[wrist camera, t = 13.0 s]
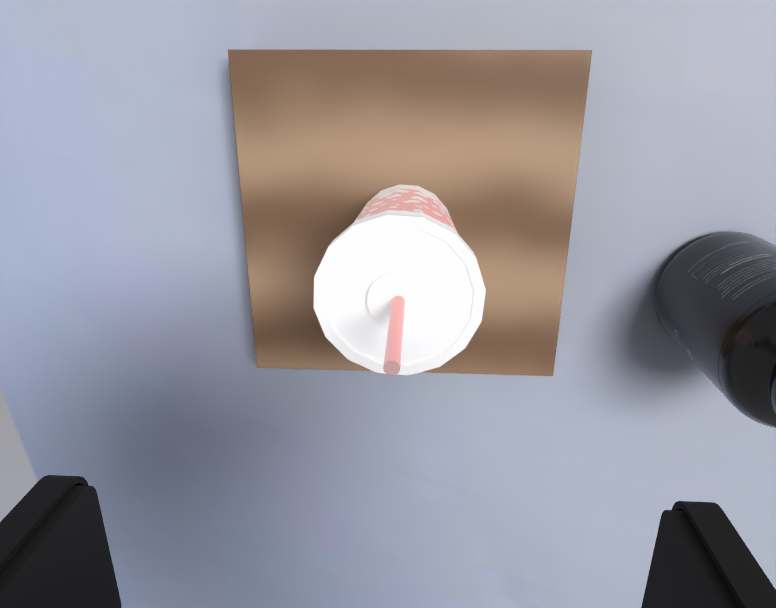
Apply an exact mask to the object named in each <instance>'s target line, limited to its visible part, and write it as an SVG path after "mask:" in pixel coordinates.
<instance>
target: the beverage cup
mask: <svg viewBox="0 0 776 608" xmlns="http://www.w3.org/2000/svg"><path fill="white" fill-rule="evenodd" d="M485 293H486V289H485V286H484V282H483V279H482V276H481V272H480V269H479V265H478V262H477V259H476V256H475V255H474V252H473V251H472V250H471V249H470V247H469V246H468V245H467V244H466V243H465V242H464V240H463V239H462V238H461V237H460V236H459V235H458V233H457V230H456V228H455V226H454V224H453V221H452V219H451V217H450V215H449V212H448V210H447V208H446V207H445V206H444V205H443V203H442V202H441V201H440V200H439V199H438V197H437V196H436V195H435V194H433V193H431V192H429V191H427V190H425V189H423V188H421V187H419V186H414V185H400V184H399V185H396V186H393V187H390V188H387V189H384V190H381V191H380V192H379V193H378V194H377V195H376V196H374V197H373V198H372V199H371V200H370V201H369V202H368V203H367V204H366V205H365V207H364V208H363V210H362V211H361V213H360V214H359V215H358V217H357V218H356V220H355V221H354V223H353V224H352V225H350V226H349V227H348V228H347V229H346V230H345V231H343V232H342V233H341V234H340V235H339V236H338V237H337V238H335V239H334V240H333V241H332V242H331V244H330V245H329V246H328V248H327V251H326V253H325V255H324V257H323V259H322V261H321V263H320V265H319V268H318V270H317V272H316V274H315V276H314V311H315V313H316V315H317V318H318V320H319V323H320V325H321V327H322V330H323V332H324V335H325V337H326V338H327V339H328V340H329V341H330V342H331V343H332V344H333V345H334V346H335V347H336V348H337V349H338V350H339V351H340V352H341V353H342V354H343V355H344V356H345V357H346V358H347V359H348V360H350V361H352V362H354V363H357V364H359V365H361V366H363V367H365V368H367V369H370V370H372V371H374V372H376V373H386V374H388V375H392V376H393V375H396V374H398V375H412V374H416V373H419V372H423V371H427V370H430V369H434V368H438V367H440V366H442V365H443V364H444V363H446V362H447V361H449V360H450V359H451V358H453V357H454V356H455V355H457V354H458V353H460V352H461V351H462V350H464V349H465V348H466V346H467V345H468V343H469V341H470V340H471V338H472V336H473V335H474V333H475V332H476V330H477V328H478V327H479V325H480V323H481V322H482V315H483V308H484V300H485Z"/></svg>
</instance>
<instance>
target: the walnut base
mask: <svg viewBox="0 0 776 608" xmlns="http://www.w3.org/2000/svg"><path fill="white" fill-rule="evenodd" d="M228 55H229V67H230V78H231V89H232V100H233V111H234V122H235V133H236V144H237V155H238V166H239V177H240V188H241V199H242V210H243V221H244V232H245V243H246V254H247V265H248V276H249V287H250V298H251V309H252V320H253V332H254V343H255V354H256V365H257V368H291V369H326V370H361V371H372V370H370V369H367V368H365V367H363V366H361V365H359V364H357V363H354V362H352V361H350V360H348V359H347V358H346V357H345V356H344V355H343V354H342V353H341V352H340V351H339V350H338V349H337V348H336V347H335V346H334V345H333V344H332V343H331V342H330V341H329V340H328V339H327V338H326V337H325V335H324V332H323V330H322V327H321V325H320V323H319V320H318V318H317V315H316V313H315V311H314V276H315V274H316V272H317V270H318V268H319V265H320V263H321V261H322V259H323V257H324V255H325V253H326V251H327V248H328V246H329V245H330V244H331V242H332V241H333V240H334V239H335V238H337V237H338V236H339V235H340V234H341V233H342V232H343V231H345V230H346V229H347V228H348V227H349V226H350V225H352V224H353V223H354V221H355V220H356V218H357V217H358V215H359V214H360V213H361V211H362V210H363V208H364V207H365V205H366V204H367V203H368V202H369V201H370V200H371V199H372V198H373V197H374V196H376V195H377V194H378V193H379V192H380V191H381V190H384V189H387V188H390V187H393V186H396V185H399V184H400V185H414V186H419V187H421V188H423V189H425V190H427V191H429V192H431V193H433V194H435V195H436V196H437V197H438V199H439V200H440V201H441V202H442V203H443V205H444V206H445V207H446V208H447V210H448V212H449V215H450V217H451V219H452V221H453V224H454V226H455V228H456V230H457V233H458V235H459V236H460V237H461V238H462V239H463V240H464V242H465V243H466V244H467V245H468V246H469V247H470V249H471V250H472V251H473V252H474V255H475V256H476V259H477V262H478V265H479V269H480V272H481V276H482V279H483V282H484V286H485V289H486V293H485V300H484V308H483V315H482V322H481V323H480V325H479V327H478V328H477V330H476V332H475V333H474V335H473V336H472V338H471V340H470V341H469V343H468V345H467V346H466V348H465V349H464V350H462V351H461V352H460V353H458V354H457V355H455V356H454V357H453V358H451V359H450V360H449V361H447V362H446V363H444V364H443V365H442V366H440V367H438V368H434V369H430V370H427V371H423V372H431V373H466V374H501V375H536V376H553V371H554V363H555V355H556V346H557V338H558V330H559V321H560V313H561V305H562V296H563V288H564V280H565V271H566V263H567V255H568V246H569V238H570V230H571V221H572V213H573V205H574V196H575V188H576V180H577V171H578V163H579V155H580V147H581V138H582V130H583V122H584V113H585V105H586V97H587V88H588V80H589V72H590V63H591V55H592V50H228Z"/></svg>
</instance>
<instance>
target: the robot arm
mask: <svg viewBox="0 0 776 608" xmlns="http://www.w3.org/2000/svg"><path fill="white" fill-rule="evenodd" d="M0 608H121V600H120V596H119V591H118V587H117V582H116V578H115V573H114V569H113V564H112V560H111V555H110V551H109V546H108V542H107V537H106V532H105V528H104V523H103V519H102V514H101V510H100V505H99V501H98V496H97V492H96V490H95V488H94V487H93V486H88V483H87V481H86V480H85V479H84V478H83V477H80V476H57V475H48V476H45V477H43V478H42V479H41V480H39V481H38V482H37V483H36V484H35V486H34V487H33V488H32V489H31V490H30V491H29V492H28V493H27V494H26V495H25V496H24V497H23V499H22V500H21V501H20V502H19V503H18V504H17V505H16V506H15V507H14V508H13V509H12V510H11V511H10V513H9V514H8V515H7V516H6V517H5V518H4V519H3V520H2V521H1V522H0ZM641 608H776V590H775V588H774V587H773V585H772V584H771V582H770V581H769V579H768V578H767V576H766V575H765V573H764V572H763V570H762V569H761V567H760V566H759V564H758V563H757V561H756V560H755V558H754V557H753V555H752V554H751V552H750V551H749V549H748V548H747V546H746V545H745V543H744V542H743V540H742V539H741V537H740V536H739V534H738V533H737V531H736V530H735V528H734V527H733V525H732V523H731V522H730V520H729V519H728V517H727V516H726V514H725V513H724V511H723V510H722V509H721V508H720V506H719V505H718V504H716V503H711V502H687V501H678V502H676V503H675V504H674V505H673V508H672V510H665V511H664V512H663V513H662V516H661V520H660V524H659V529H658V534H657V538H656V543H655V547H654V552H653V557H652V561H651V566H650V571H649V575H648V580H647V584H646V589H645V594H644V598H643V603H642V607H641Z"/></svg>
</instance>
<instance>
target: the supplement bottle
mask: <svg viewBox="0 0 776 608" xmlns="http://www.w3.org/2000/svg"><path fill="white" fill-rule="evenodd" d="M655 304H656V311H657V315H658V318H659V320H660V322H661V324H662V325H663V327H664V329H665V330H666V331H667V332H668V334H669V335H670V336H671V337H672V338H673V340H674V341H675V342H676V343H677V344H678V345H679V346H680V347H681V348H682V350H683V351H684V352H685V353H686V354H687V355H688V356H689V357H690V358H691V359H692V361H693V362H694V363H695V364H696V365H697V366H698V367H699V368H700V369H701V370H702V372H703V373H704V374H705V375H706V376H707V377H708V378H709V379H710V380H711V381H712V383H713V384H714V385H715V386H716V387H717V388H718V389H719V390H720V391H721V392H722V393H723V395H724V396H725V397H726V398H727V399H728V400H729V401H730V402H731V403H732V404H733V405H734V406H735V407H736V408H737V409H738V410H739V411H740V412H742V413H743V414H744V415H745V416H747V417H749V418H750V419H752V420H754V421H756V422H758V423H761V424H764V425H766V426H770V427H774V428H776V245H774V244H772V243H770V242H768V241H766V240H764V239H762V238H759V237H757V236H754V235H751V234H747V233H741V232H723V233H717V234H712V235H709V236H706V237H703V238H701V239H699V240H696V241H694V242H693V243H691V244H689V245H688V246H686V247H685V248H684V249H682V250H681V251H680V252H679V253H678V254H677V255H675V256H674V257H673V259H672V260H671V261H670V262H669V263H668V265H667V266H666V268H665V269H664V271H663V273H662V275H661V277H660V279H659V282H658V285H657V289H656V295H655Z"/></svg>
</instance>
